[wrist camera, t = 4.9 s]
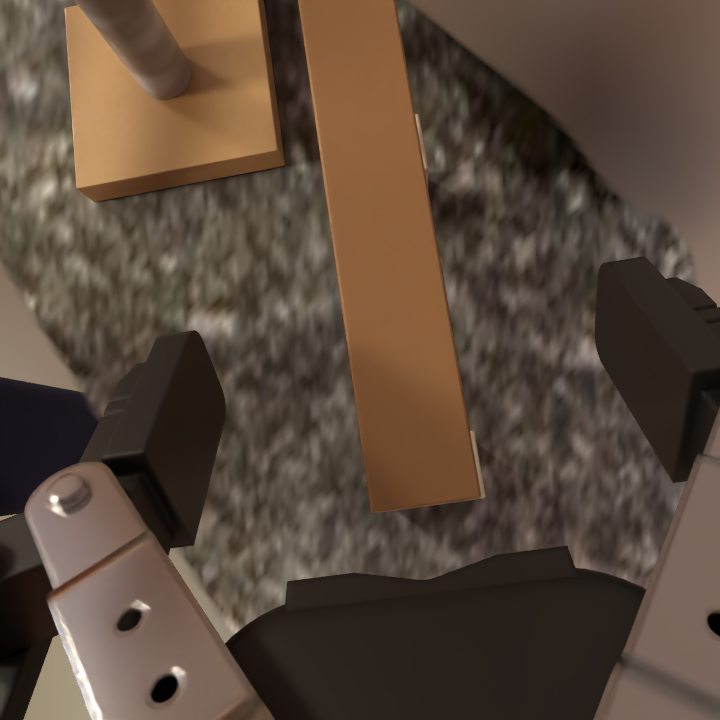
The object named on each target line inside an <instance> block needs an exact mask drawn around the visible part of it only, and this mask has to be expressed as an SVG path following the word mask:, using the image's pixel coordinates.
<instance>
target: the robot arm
mask: <svg viewBox="0 0 720 720" xmlns="http://www.w3.org/2000/svg"><path fill="white" fill-rule="evenodd" d="M716 305H717V304H716V303H715V302H714V301H713V300H712V299H711V298H710V297H709V296H708V295H707V294H706V293H705V292H704V291H703V290H702V289H701V288H698V287H696V286H694V285H692V284H690V283H688V282H685V281H683V280H681V279H679V278H677V277H675V278H668V279H665V278H664V277H663V276H662V274H661V273H660V272H659V271H658V270H657V269H656V268H655V267H654V266H653V265H652V264H651V263H650V262H649V260H648V259H646V258H645V257H638V258H632V259H626V260H620V261H614V262H608V263H603V264H602V265H601V266H600V268H599V272H598V283H597V301H596V318H595V342H596V348H597V352H598V355H599V358H600V361H601V363H602V364H603V366H604V368H605V369H606V371H607V373H608V374H609V376H610V378H611V379H612V381H613V383H614V384H615V386H616V388H617V389H618V391H619V393H620V394H621V396H622V398H623V399H624V401H625V403H626V405H627V406H628V408H629V410H630V411H631V413H632V415H633V416H634V418H635V420H636V421H637V423H638V425H639V426H640V428H641V430H642V431H643V433H644V435H645V436H646V438H647V440H648V441H649V443H650V445H651V446H652V448H653V450H654V451H655V453H656V455H657V456H658V458H659V460H660V461H661V463H662V465H663V466H664V468H665V470H666V471H667V473H668V475H669V476H670V478H671V480H672V481H673V483H675V482H683V481H687V483H686V486H685V488H684V491H683V494H682V496H681V499H680V502H679V504H678V507H677V510H676V512H675V515H674V518H673V520H672V523H671V526H670V528H669V531H668V534H667V536H666V539H665V542H664V544H663V547H662V550H661V552H660V555H659V558H658V560H657V563H656V566H655V568H654V571H653V574H652V576H651V579H650V582H649V584H648V587H647V590H646V589H644V588H642V587H640V586H638V585H636V584H633V583H631V582H629V581H627V580H624V579H621V578H618V577H615V576H612V575H609V574H606V573H602V572H597V571H592V570H588V569H580V568H575V566H574V563H573V560H572V558H571V555H570V552H569V549H568V546H563V547H555V548H547V549H539V550H531V551H523V552H515V553H507V554H499V555H495V556H492V557H489V558H487V559H484V560H481V561H479V562H476V563H473V564H471V565H468V566H465V567H463V568H460V569H457V570H455V571H452V572H449V573H446V574H444V575H441V576H438V577H436V578H433V579H429V580H414V579H405V578H396V577H386V576H377V575H368V574H359V573H350V574H342V575H334V576H326V577H318V578H310V579H302V580H295V581H287V591H286V602H285V604H284V605H282V606H279V607H277V608H275V609H273V610H271V611H269V612H267V613H265V614H263V615H261V616H260V617H258V618H256V619H255V620H253V621H252V622H250V623H249V624H247V625H246V626H245V627H243V628H242V629H241V630H240V631H238V632H237V633H236V634H235V635H233V636H232V637H231V638H230V639H229V640H228V641H227V642H226V643H224V642H223V640H222V639H221V637H220V636H219V634H218V633H217V631H216V630H215V628H214V626H213V625H212V623H211V622H210V620H209V619H208V617H207V616H206V614H205V613H204V611H203V609H202V608H201V606H200V605H199V604H198V602H197V600H196V599H195V598H194V596H193V594H192V593H191V591H190V589H189V588H188V586H187V585H186V584H185V582H184V580H183V579H182V577H181V576H180V574H179V572H178V571H177V569H176V568H175V566H174V565H173V563H172V562H171V560H170V559H169V557H168V555H169V551H170V548H177V547H184V546H192V545H194V542H195V538H196V534H197V530H198V526H199V522H200V518H201V514H202V510H203V506H204V502H205V498H206V494H207V490H208V486H209V482H210V478H211V474H212V470H213V466H214V462H215V458H216V454H217V450H218V446H219V442H220V438H221V433H222V429H223V425H224V421H225V416H226V405H225V398H224V393H223V390H222V387H221V385H220V382H219V380H218V377H217V375H216V372H215V370H214V367H213V365H212V362H211V360H210V357H209V355H208V352H207V350H206V347H205V345H204V342H203V340H202V338H201V336H200V334H199V333H198V332H197V331H195V330H193V331H187V332H181V333H175V334H169V335H163V336H159V337H158V338H157V339H156V341H155V343H154V345H153V347H152V349H151V351H150V353H149V356H148V358H147V360H146V362H145V363H139V364H137V365H136V366H135V367H134V368H133V369H132V370H131V371H130V372H129V373H128V374H127V375H126V376H125V377H124V378H122V379H121V380H120V382H119V384H118V386H117V388H116V390H115V392H114V394H113V396H112V398H111V400H112V402H109V404H108V406H107V408H106V410H105V412H104V417H102V418H101V420H100V422H99V424H98V426H97V428H96V430H95V432H94V434H93V435H92V437H91V439H90V441H89V443H88V445H87V447H86V449H85V451H84V453H83V455H82V457H81V459H80V461H79V463H78V464H75V465H72V466H69V467H67V468H64V469H62V470H60V471H58V472H57V473H55V474H54V475H52V476H50V477H49V478H48V479H46V480H45V481H44V482H43V483H42V484H41V485H39V486H38V488H37V489H36V490H35V491H34V492H33V493H32V495H31V496H30V498H29V499H28V501H27V503H26V507H25V512H22V513H20V514H17V515H15V516H12V517H9V518H7V519H4V520H2V521H0V720H23V719H24V716H25V713H26V710H27V708H28V705H29V702H30V699H31V697H32V694H33V691H34V688H35V685H36V683H37V680H38V677H39V674H40V672H41V669H42V666H43V663H44V660H45V657H46V655H47V652H48V649H49V647H50V644H51V641H52V638H53V637H54V636H57V635H59V636H60V638H61V641H62V644H63V646H64V649H65V652H66V654H67V657H68V659H69V662H70V665H71V667H72V670H73V673H74V675H75V678H76V681H77V683H78V686H79V689H80V691H81V694H82V697H83V699H84V702H85V704H86V707H87V710H88V713H89V715H90V718H91V720H720V307H718V308H717V306H716Z"/></svg>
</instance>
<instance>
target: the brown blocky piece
mask: <svg viewBox="0 0 720 720" xmlns="http://www.w3.org/2000/svg"><path fill="white" fill-rule="evenodd" d="M298 2H299V9H300V16H301V23H302V30H303V37H304V44H305V51H306V58H307V65H308V72H309V79H310V86H311V93H312V100H313V107H314V114H315V121H316V129H317V136H318V143H319V150H320V157H321V164H322V171H323V178H324V185H325V192H326V199H327V206H328V213H329V220H330V227H331V234H332V241H333V248H334V255H335V262H336V269H337V276H338V283H339V290H340V297H341V305H342V312H343V319H344V326H345V333H346V340H347V347H348V354H349V361H350V368H351V375H352V382H353V389H354V396H355V403H356V410H357V417H358V424H359V431H360V438H361V445H362V452H363V459H364V466H365V474H366V481H367V488H368V495H369V502H370V509H371V511H372V512H373V513H381V512H388V511H395V510H402V509H410V508H417V507H424V506H431V505H439V504H446V503H453V502H460V501H468V500H475V499H482V498H485V497H486V495H485V489H484V484H483V478H482V472H481V466H480V461H479V455H478V449H477V444H476V438H475V432H474V431H470V427H469V422H468V416H467V410H466V404H465V399H464V393H463V387H462V381H461V376H460V370H459V364H458V358H457V353H456V347H455V341H454V335H453V330H452V324H451V318H450V312H449V307H448V301H447V295H446V289H445V284H444V278H443V272H442V266H441V261H440V255H439V249H438V243H437V238H436V232H435V226H434V220H433V215H432V209H431V203H430V197H429V192H428V164H427V158H426V153H425V147H424V141H423V136H422V130H421V124H420V118H419V115H418V114H415V111H414V105H413V99H412V94H411V88H410V82H409V76H408V71H407V65H406V59H405V53H404V48H403V42H402V36H401V30H400V25H399V19H398V13H397V7H396V2H395V0H298Z"/></svg>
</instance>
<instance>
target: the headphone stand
mask: <svg viewBox="0 0 720 720" xmlns="http://www.w3.org/2000/svg"><path fill="white" fill-rule="evenodd" d="M74 1H75V2H76V3H77V5H76V6H72V7H67V8H65V19H66V34H67V49H68V65H69V80H70V95H71V111H72V126H73V141H74V157H75V172H76V187H77V189H78V190H79V191H80V192H82V193H83V194H84V195H86V196H87V197H88V198H90V199H91V200H92V201H93V202H97V201H102V200H108V199H113V198H118V197H123V196H129V195H134V194H139V193H144V192H150V191H155V190H160V189H165V188H171V187H176V186H181V185H186V184H192V183H197V182H202V181H207V180H213V179H218V178H223V177H228V176H234V175H239V174H244V173H249V172H255V171H260V170H265V169H270V168H276V167H281V166H285V160H284V152H283V144H282V137H281V129H280V121H279V114H278V106H277V98H276V91H275V83H274V75H273V68H272V60H271V52H270V45H269V37H268V29H267V22H266V14H265V6H264V0H74Z"/></svg>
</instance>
